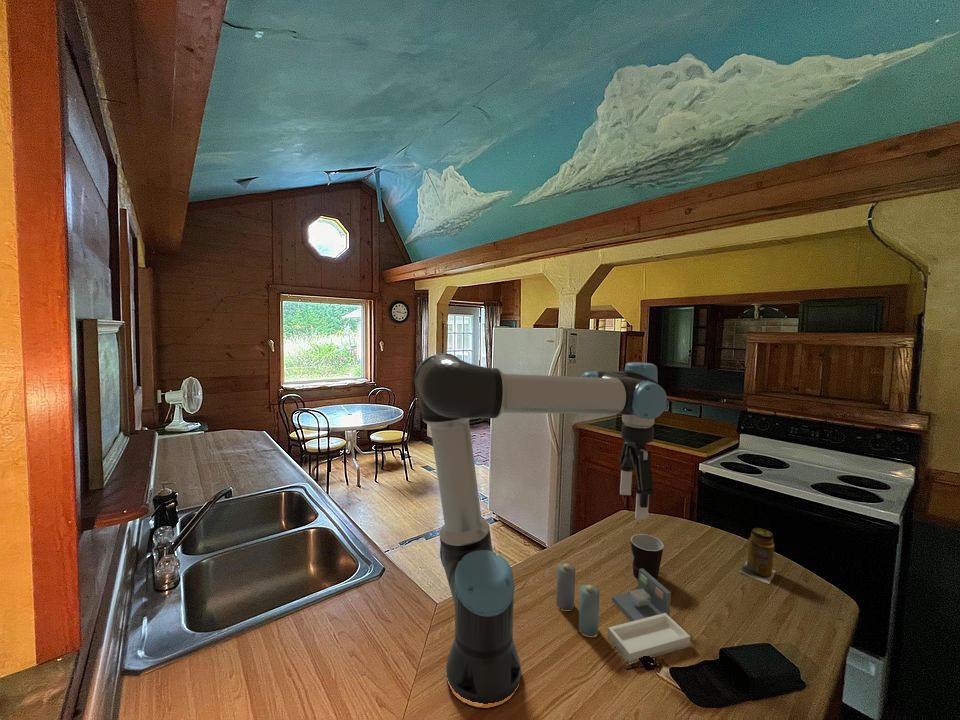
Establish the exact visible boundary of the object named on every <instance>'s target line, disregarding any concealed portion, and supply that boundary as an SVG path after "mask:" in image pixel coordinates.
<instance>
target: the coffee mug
mask: <svg viewBox="0 0 960 720" xmlns="http://www.w3.org/2000/svg"><path fill="white" fill-rule="evenodd" d="M630 547H631V548H630V549H631V560H632V561H631V562H632V572H633V573H632V574H633V576H634V578H635V579H636V580H638V577H639V569H642V568H643V569H644V570H645V571H646V572H648V573H649V574H650V575H651V576H652V577H653V578H655V579H656V580H657V581H658V578H659V577H658V576H659V572H660V567H661V563H662V558H663V551H664V548H665V545H664V543H663V542H662V540H661V539H659V538H658V537H655V536H653V535H650V534H646V533H644V534H643V533H639V534H634V535H632V536H631V538H630Z"/></svg>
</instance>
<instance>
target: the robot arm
mask: <svg viewBox="0 0 960 720" xmlns="http://www.w3.org/2000/svg"><path fill="white" fill-rule="evenodd" d="M658 383H659V381H658V367H657V365H655V364H654V363H651V362H650V363H649V362H640V361H639V362H638V361H637V362H635V361H631V362H626V364H625V366H624V370H621V371H597V370H595V371H587V372H586V371H585V372H584V373H582V374H581V376H566V375H565V376H564V375H546V374H545V375H541V374H519V373H517V374H515V373H504V372H502V370H501V369H500V368H499V367H487V366H480V365H476V364H473V363H469V362H467V361H465V360H462V359H460V358H459V357H458V356H456V355H454V354H451V353H446V352H445V353H435V354H431V355H430V356H428V357H425V358H424V359H423V361H421V363H420V364H419V365H418V367H417V369H416V371H415V375H414V387H415V389H416V392H417V393H418V401H419V404H420V405H419V407H420V414H421V419H422V421H423V422H424V423H425V424H427V425H429V427H430V434H431V440H432V447H433V453H434V461H435V462H434V463H435V467H436V473H437V481H438V482H437V483H438V487H439V494H440V495H439V496H440V501H441V508H442V515H443V516H442V517H443V523H444V524H443V525H442V526H441V528H439V534H438V535H439V542H440V545H439V557H440V561H441V565H442V568H443V569H444V573H445V576H446V580H447V583H448V587H449V590H450V593H451V596H452V599H453V605H454V640H453V643H452V646H451V647H450V651H449V654H448V656H447V661H446V667H445V669H446V672H447V678H448V681H449V683H450V685H451V686H452V688H453V689H454V691H455V692H456V693H458V694H459V695H460V696H461V697H463V698H465V699H467V700H470V701H472V702H478V703H483V704H488V703H495V702H499V701H502V700H504V699H505V698H507V697H508V696H510V695H511V694H512V693H513V692H514V691H515V689H516V688H517V686H518V684H519V681H520V682H521V680H520V677H521V675H522V672H521V671H522V669H521V668H522V667H521V659H520V656H519V654H518V653H519V652H518V649H516V645H515V641H514V639H513V638H514V637H513V635H514V633H513V632H514V601H515V598H514V595H515V590H516V589H515V579H514V573H513V569H512V567H511V565H510V563H509V562H508V560H506V558H504V557H503V556H502V555H501V554H498V555H497V554H496V552H495V551H494V549H493V545H492V544H493V543H492V537H491V530H490V529H491V528H490V524H489V521H487V520H486V519H484V518H483V517H482V510H481V502H480V497H479V489H478V488H479V487H478V480H477V473H476V464H475V458H474V449H473V442H472V435H471V429H470V428H471V426H470V419H498V418H499V417H500V416H501V415H502V414H556V415H557V414H561V415H562V414H564V415H565V414H567V415H568V414H569V415H571V414H572V415H575V414H576V415H579V414H580V415H621V421H622V425H621V431H620V432H621V434H620V436H621V439H623V444H622V448H621V453H620V455H619V456H620V457H619V461H618V464H619V466H620V484H619V485H620V486H619V495H620V496H631V495H632V480H633V471H635V478H636V482H637V489H636V490H635V494H636V496H635V510H634V512H635V514H634V519H636V520H648V518H649V515H648V514H649V505H650V496H653V495H654V493H655V492H654V484H653V472H652V462H651V461H652V459H651V457H652V453H651V451H650V450H647V447H646V445H647V444H650V443H652V442H653V441H654V435H655V434H654V433H655V427H654V424H655V419H656V418H658V417H660V416H661V414H662V413H664V411H665V410H666V407H667V400H668V397H667V393H666V390H665V389H664V388H663V387H662V386H661V385H659V384H658ZM447 678H446V679H447ZM521 678H522V677H521Z"/></svg>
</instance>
